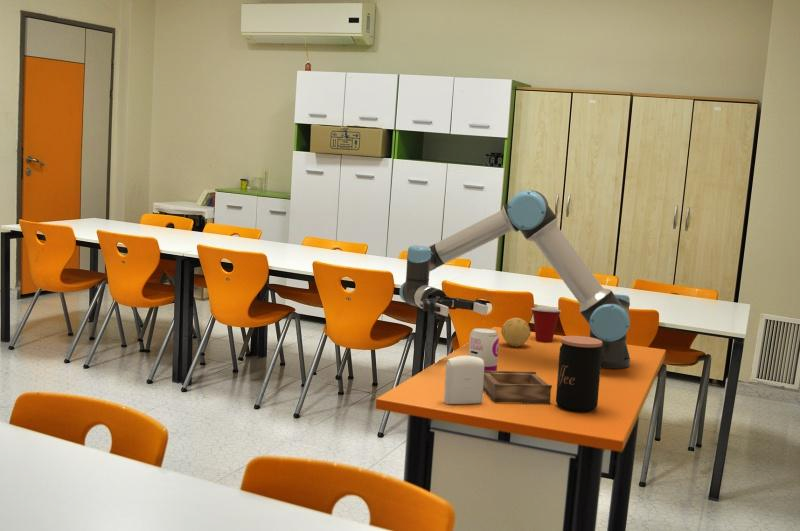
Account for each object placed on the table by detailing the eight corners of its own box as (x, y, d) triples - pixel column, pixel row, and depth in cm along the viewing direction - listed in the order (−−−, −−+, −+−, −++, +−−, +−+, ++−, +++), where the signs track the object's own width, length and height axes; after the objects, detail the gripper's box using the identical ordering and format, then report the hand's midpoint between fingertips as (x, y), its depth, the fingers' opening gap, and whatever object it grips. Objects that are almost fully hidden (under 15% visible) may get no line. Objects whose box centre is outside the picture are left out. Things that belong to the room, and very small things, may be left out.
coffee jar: (550, 401, 230) (555, 334, 228) (589, 402, 231) (595, 336, 229) (561, 412, 219) (567, 343, 217) (602, 414, 220) (608, 344, 218)
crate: (534, 388, 242) (535, 371, 242) (550, 403, 227) (552, 385, 227) (480, 387, 240) (481, 370, 240) (493, 402, 225) (494, 384, 225)
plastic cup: (557, 339, 319) (560, 307, 318) (560, 344, 308) (562, 311, 307) (528, 336, 320) (530, 304, 319) (529, 342, 309) (532, 309, 308)
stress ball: (506, 345, 307) (491, 328, 302) (525, 324, 308) (510, 308, 303) (521, 355, 298) (505, 338, 293) (540, 334, 299) (525, 317, 294)
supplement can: (498, 380, 249) (502, 329, 248) (491, 387, 242) (495, 334, 240) (471, 377, 252) (474, 326, 250) (463, 383, 244) (467, 331, 242)
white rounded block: (446, 405, 220) (449, 357, 219) (441, 400, 224) (444, 354, 223) (484, 404, 223) (487, 357, 222) (478, 400, 227) (482, 354, 226)
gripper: (463, 310, 278) (501, 322, 259) (395, 311, 266) (429, 324, 248) (465, 287, 277) (503, 297, 259) (396, 287, 265) (431, 299, 247)
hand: (467, 311), depth 253 cm, fingers open, 13 cm apart
